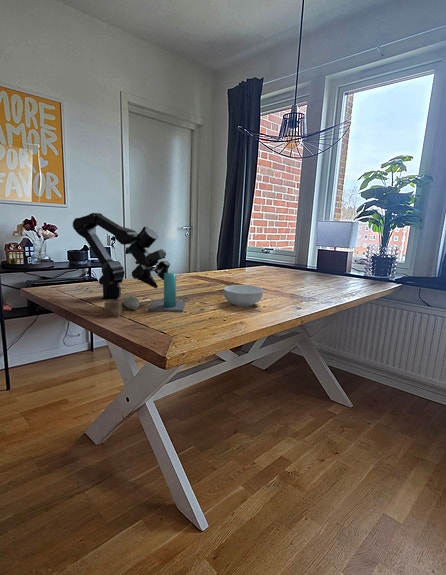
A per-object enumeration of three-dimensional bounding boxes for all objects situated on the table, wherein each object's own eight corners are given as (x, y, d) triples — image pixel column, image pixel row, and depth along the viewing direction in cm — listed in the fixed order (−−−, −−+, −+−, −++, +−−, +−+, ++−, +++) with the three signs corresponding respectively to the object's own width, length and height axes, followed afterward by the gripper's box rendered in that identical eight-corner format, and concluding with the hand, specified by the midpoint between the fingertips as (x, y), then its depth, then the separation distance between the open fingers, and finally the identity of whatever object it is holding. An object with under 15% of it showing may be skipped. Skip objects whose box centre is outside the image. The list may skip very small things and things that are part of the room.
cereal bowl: (227, 298, 151) (228, 283, 150) (263, 301, 148) (264, 286, 147) (219, 307, 135) (220, 290, 134) (259, 311, 132) (261, 294, 131)
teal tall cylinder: (165, 307, 128) (165, 274, 126) (162, 304, 132) (162, 272, 130) (177, 306, 130) (177, 274, 128) (173, 303, 134) (174, 272, 132)
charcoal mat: (148, 310, 126) (148, 308, 126) (154, 302, 138) (154, 300, 138) (182, 311, 126) (182, 309, 126) (185, 303, 139) (185, 301, 139)
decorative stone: (127, 312, 124) (127, 303, 123) (120, 302, 137) (119, 294, 137) (143, 310, 127) (143, 302, 126) (134, 301, 140) (134, 293, 139)
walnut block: (104, 316, 117) (104, 302, 116) (108, 312, 122) (108, 299, 121) (119, 316, 117) (118, 303, 116) (122, 312, 122) (122, 299, 121)
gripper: (137, 243, 121) (162, 276, 119) (166, 241, 138) (188, 270, 136) (121, 262, 126) (144, 294, 124) (151, 258, 143) (172, 286, 141)
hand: (163, 285), depth 131 cm, fingers open, 9 cm apart
